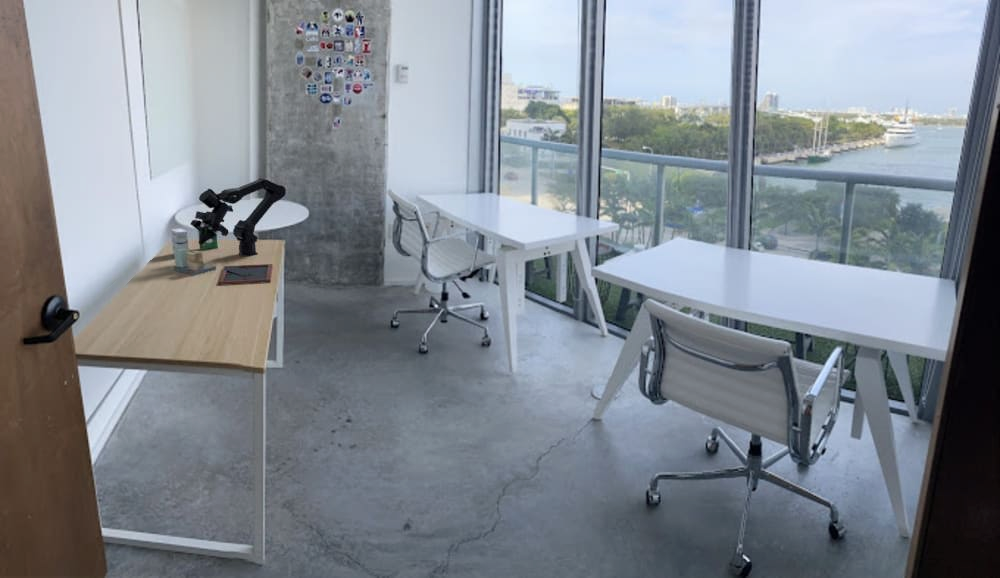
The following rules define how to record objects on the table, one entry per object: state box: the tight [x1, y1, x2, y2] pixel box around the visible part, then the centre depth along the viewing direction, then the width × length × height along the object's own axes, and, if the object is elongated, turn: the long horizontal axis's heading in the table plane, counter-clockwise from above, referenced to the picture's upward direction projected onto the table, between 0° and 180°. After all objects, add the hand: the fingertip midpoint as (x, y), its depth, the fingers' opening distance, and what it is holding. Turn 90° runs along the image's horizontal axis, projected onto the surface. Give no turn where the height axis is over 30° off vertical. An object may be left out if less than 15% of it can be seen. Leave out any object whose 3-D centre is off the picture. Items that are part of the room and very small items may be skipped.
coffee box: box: [197, 221, 219, 250], centre depth 350 cm, size 8×3×13 cm, turn 117°
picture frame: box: [218, 263, 274, 286], centre depth 309 cm, size 20×2×25 cm
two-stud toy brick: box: [173, 248, 191, 268], centre depth 314 cm, size 4×4×7 cm
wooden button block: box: [186, 250, 205, 270], centre depth 310 cm, size 4×4×7 cm
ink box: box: [170, 228, 190, 255], centre depth 337 cm, size 8×5×12 cm, turn 39°
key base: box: [172, 263, 217, 276], centre depth 315 cm, size 10×14×2 cm
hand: (199, 243), depth 320 cm, fingers closed
